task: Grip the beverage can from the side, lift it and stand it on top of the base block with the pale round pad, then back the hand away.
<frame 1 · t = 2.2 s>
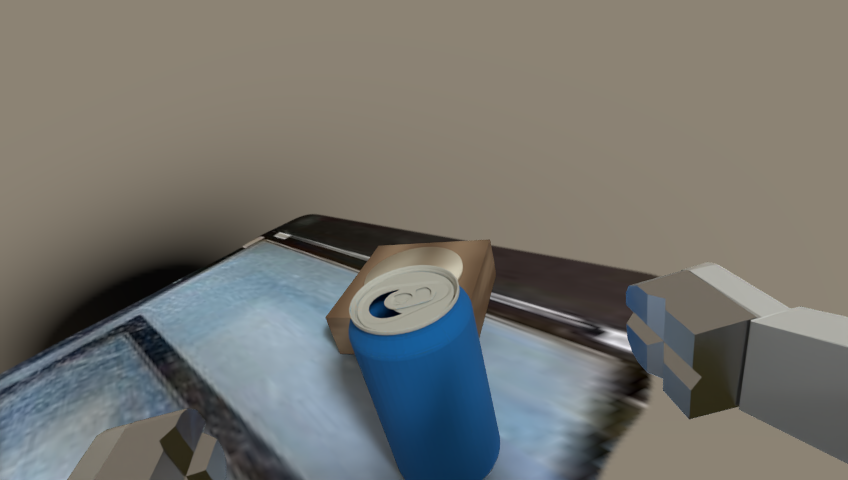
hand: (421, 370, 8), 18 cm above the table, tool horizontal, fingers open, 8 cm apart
beverage can: (450, 454, 27), on the table
base block: (423, 311, 40), on the table
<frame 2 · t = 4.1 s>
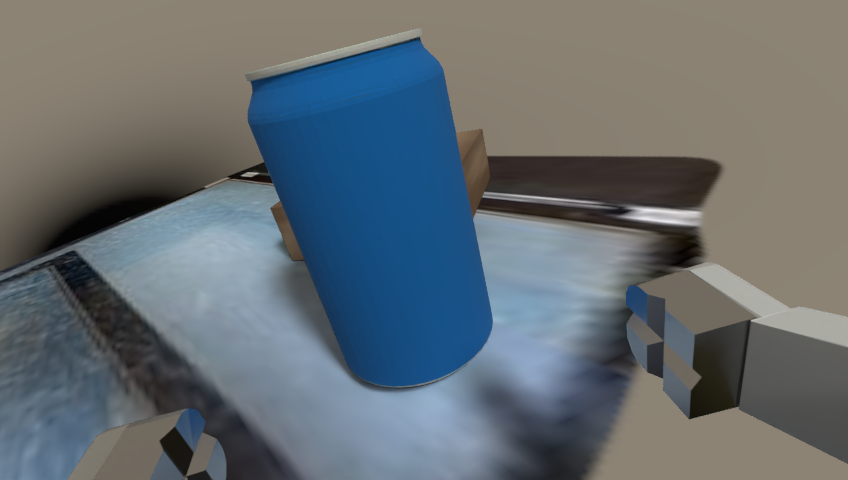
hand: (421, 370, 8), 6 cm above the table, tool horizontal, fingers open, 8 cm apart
beverage can: (422, 346, 19), on the table
base block: (400, 215, 32), on the table
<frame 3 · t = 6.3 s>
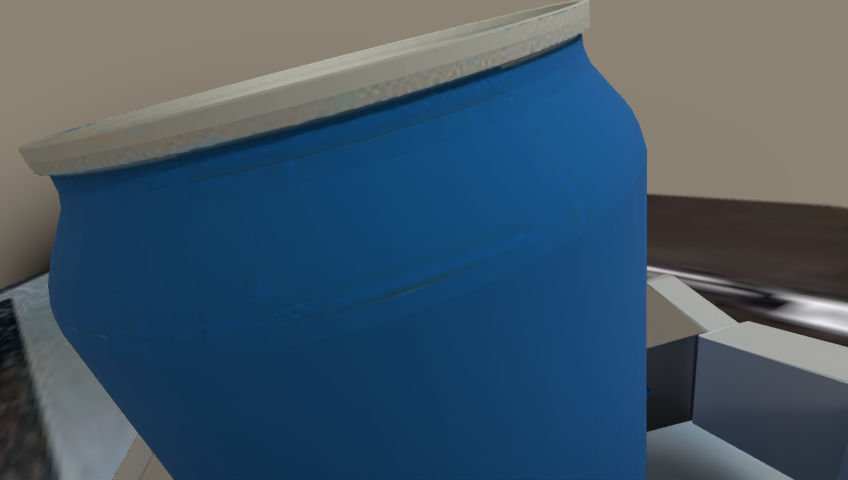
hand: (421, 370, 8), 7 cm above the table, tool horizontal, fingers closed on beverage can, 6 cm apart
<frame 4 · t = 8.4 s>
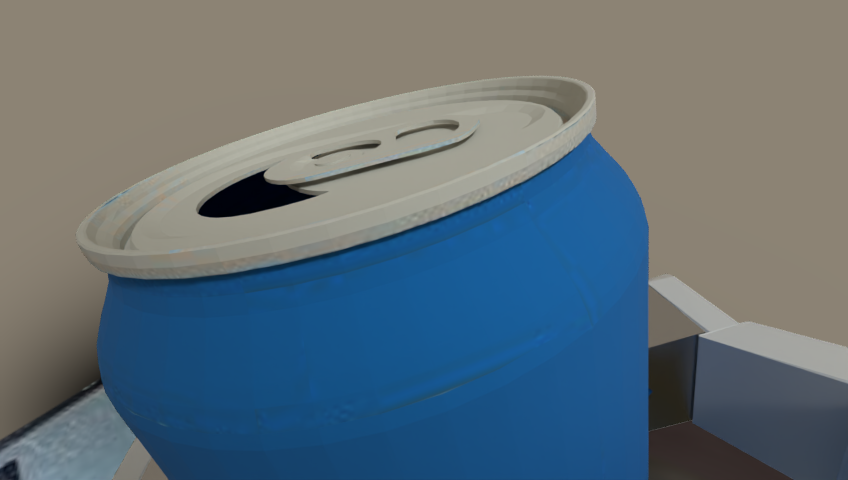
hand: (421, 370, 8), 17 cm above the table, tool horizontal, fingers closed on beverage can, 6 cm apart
when the fingers open (12 cm above the table, at t = 10.6 s): beverage can stays where it is, resting on base block.
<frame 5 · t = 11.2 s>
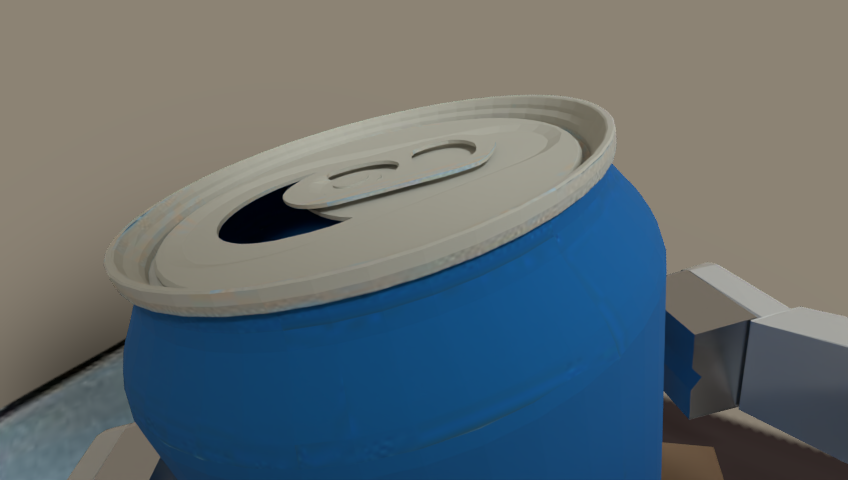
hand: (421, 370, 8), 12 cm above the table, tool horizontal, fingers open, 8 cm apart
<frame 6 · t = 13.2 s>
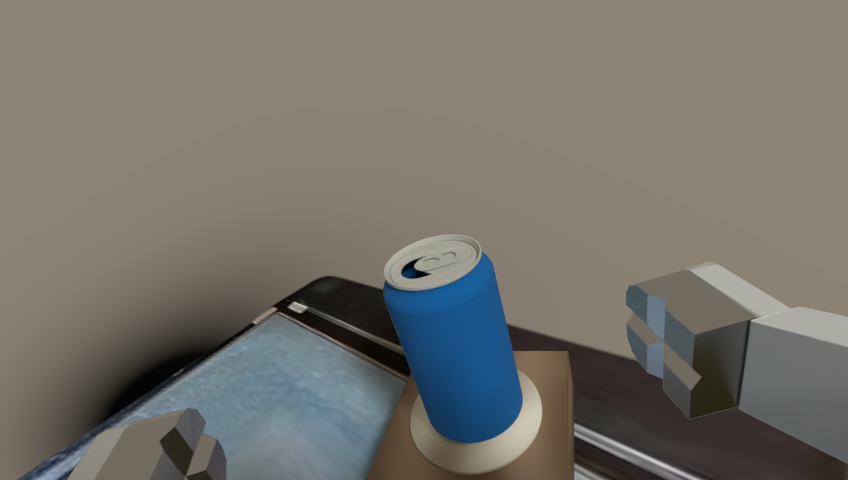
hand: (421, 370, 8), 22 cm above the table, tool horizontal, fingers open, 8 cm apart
beverage can: (477, 411, 29), point 4 cm above the table, touching base block
base block: (486, 451, 31), on the table
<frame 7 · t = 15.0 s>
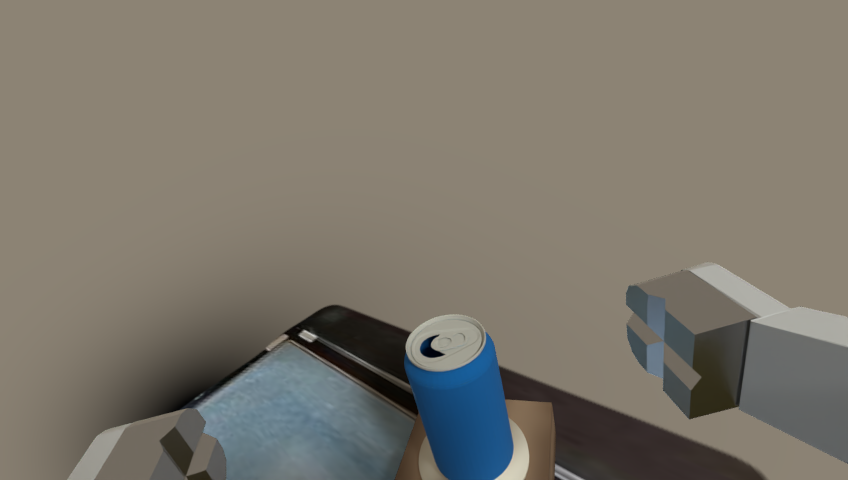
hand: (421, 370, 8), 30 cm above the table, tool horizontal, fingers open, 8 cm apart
beverage can: (475, 455, 35), point 4 cm above the table, touching base block
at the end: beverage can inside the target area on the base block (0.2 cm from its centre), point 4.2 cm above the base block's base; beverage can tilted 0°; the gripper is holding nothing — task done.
